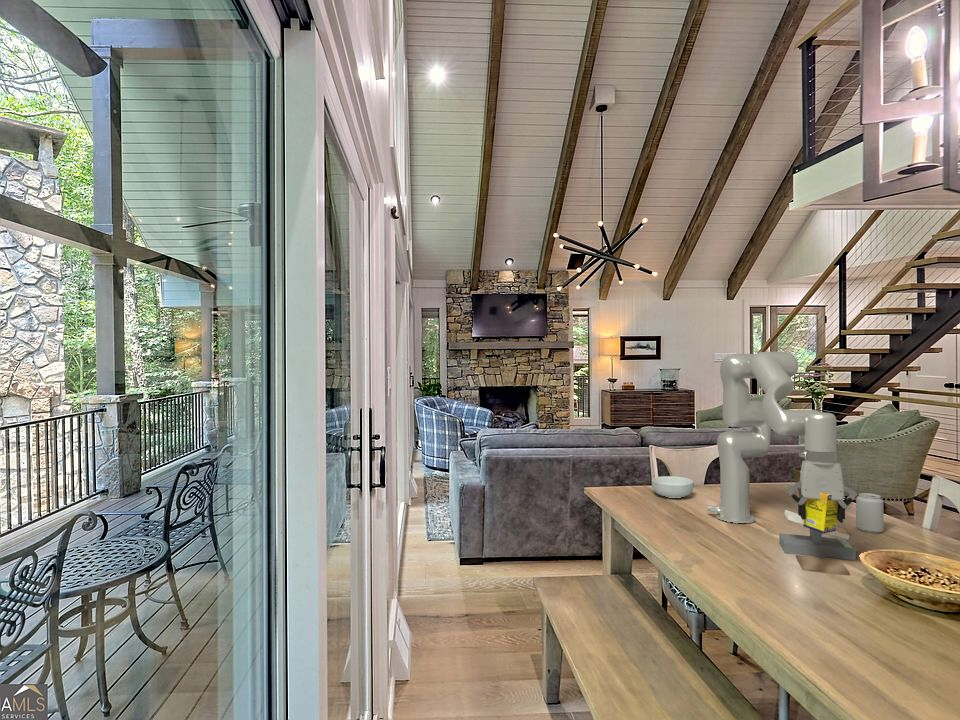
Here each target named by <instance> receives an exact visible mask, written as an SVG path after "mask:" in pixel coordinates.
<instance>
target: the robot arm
mask: <svg viewBox="0 0 960 720" xmlns="http://www.w3.org/2000/svg"><path fill="white" fill-rule="evenodd" d="M798 370H799V362H798V359H797V358H796V356H795V355H794V354H792V352H789V351H760V352H756V353H736V354H735V353H734V354H729V355H727V356H725V357H723V359H722V360H721V363H720V365H719V375H720V378H721V379H720V380H721V383H722V384H721V385H722V389H723V390H722V391H723V392H722V420H723V423H724V425H726V427H730V428H751V430H727V431H724V432H722V433H720V434H719V435H718V436H717V439H716V445H717V451H718V457H719V467H720V468H719V471H720V472H719V474H720V475H719V476H720V477H719V479H720V481H719V482H720V486H719V487H720V502H719V504H718V505H715V506H714V505H707V506H706V511H708V512H709V511H710V513H716V514H715V517H717V518H718V520H719V519H721V520H720V521H722V520H724V521H723V522H725V521H727V522H726V523H730V522H733V523H732V524H738V523H747V524H752V523H755V519H756V518H755V517H754V516H753V515H752V514H751V512H750V508H751V507H750V506H751V505H750V504H751V503H750V498H751V496H750V492H751V491H750V470H749V467H748V466H747V464H746V463H745V461H744V459H746V458H763V457H766V456H767V455H768V454H769V451H770V448H771V433H772V431H773V432H774V433H776V434H777V435H779V436H786V437H791V436H794V437H795V436H804V450H803V451H800V452H798V457H799V458H803V459H804V460H802V462H801V466H800V467H801V473H800V481H799V482H797V483H796V482H795V483H793V484H791V485H789V486H787V487H786V488H785V489H786V491H787V493H788V494H789V496H790V497H791V498H792V499H793V500H794V501H795V502H796V503H797V512H798V513H797V514H798V515H799V516H801V518H802V520H805V505H804V502H805V501H806V500H807V499H820V493H825V494H831V495H832V498H831V500H835V501H837V502H838V503H839V505H838V515H837V522H839V523H841V524H843V523H844V520H846V508H847V507H848V506H849V505H850V504H852V503H853V501H854V500H856V498H857V497H858V493H857V492H856V491H855V490H853V489H851V488H850V487H848V486H846V485H845V484H844V478H843V477H844V476H843V470H842V465H841V463H839V462H837V461H838V459H837V458H838V457H837V454H838V453H837V418H836V416H835V414H833V413H831V412H824V411H823V412H822V411H819V410H816V409H783V408H782V407H781V406H780V405H779V403H778V402H780V401H781V400H784V399H785V398H787V397H789V396H790V395H791V393H792V392H793V391H794V388H795V384H794V383H795V382H794V381H793V379H792V378H791V377H794V376H795V375H796V374H797V373H798ZM745 379H755V380H756V381H757V382H758V384H759V385H760V387H761V389H762V390H763V391H764V393H765V394H764V395H763V398H762V400H750V387H749V385H748V384H747V382H746V381H745ZM771 430H772V431H771ZM743 458H744V459H743ZM798 488H800V493H801V495H800V496H798V495H796V493H795V491H796V490H798ZM845 492H846V493H848V496H847V497H846V498H845ZM844 498H845V499H844ZM717 518H716V519H717Z"/></svg>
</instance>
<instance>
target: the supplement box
mask: <svg viewBox="0 0 960 720" xmlns="http://www.w3.org/2000/svg"><path fill="white" fill-rule="evenodd" d="M831 498H832V495H831V494H825V493H820V499H807V500H806V503H805V520H804V524H802V526H803V528H806V529H808V530H810V529H811V530H814V531H817V532H820V533H822V535H823V534H829V533H828V532H832V531H836V526H837V524H838V520H837V515H838V505H839V503H838V502H837V501H835V500H831Z"/></svg>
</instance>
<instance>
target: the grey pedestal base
mask: <svg viewBox="0 0 960 720" xmlns="http://www.w3.org/2000/svg"><path fill="white" fill-rule="evenodd" d="M778 535H779V545H780V547H781V548H782V551H783V553H784V554H789V555H802V556H812V557H822V558H832V559H840V560H846V561H847V560H850V561H856V560H857V551H856V548H855V547H854V546H853V545H852V544H851V542H850V541H849V539H848V540H847V539H844V538H838V537H837V538H836V537H825V536H823V534H822V533H820V532H817V531H814V530H811V529H809V535H806V534H805V535H803V534H793V533H783V532H782V533H781V532H780V533H779V534H778Z"/></svg>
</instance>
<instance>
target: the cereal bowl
mask: <svg viewBox="0 0 960 720" xmlns="http://www.w3.org/2000/svg"><path fill="white" fill-rule="evenodd" d="M694 485H695V481H694V480H692V479H691V478H687V477H683V476H673V475H668V476H667V475H666V476H664V475H663V476H657V477H656V476H655V477H653V478H651V487H652V489H653V491H654V492H655V493H656V494H658V495H659V496H662V497H663V496H666V497H676V498H677V497H683V498H684V497H687V496H689V495H690V494H691V493H693V491H694Z"/></svg>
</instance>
